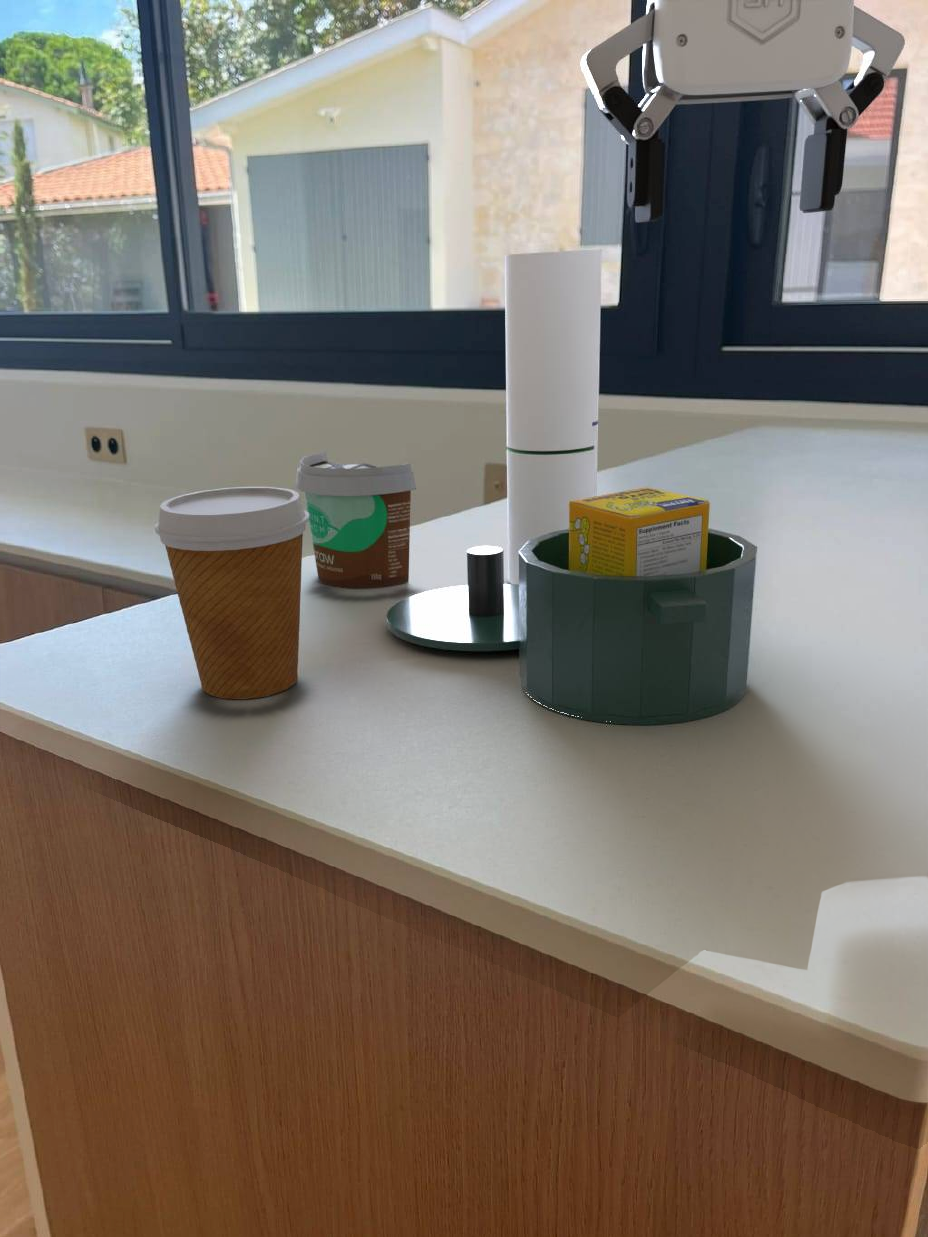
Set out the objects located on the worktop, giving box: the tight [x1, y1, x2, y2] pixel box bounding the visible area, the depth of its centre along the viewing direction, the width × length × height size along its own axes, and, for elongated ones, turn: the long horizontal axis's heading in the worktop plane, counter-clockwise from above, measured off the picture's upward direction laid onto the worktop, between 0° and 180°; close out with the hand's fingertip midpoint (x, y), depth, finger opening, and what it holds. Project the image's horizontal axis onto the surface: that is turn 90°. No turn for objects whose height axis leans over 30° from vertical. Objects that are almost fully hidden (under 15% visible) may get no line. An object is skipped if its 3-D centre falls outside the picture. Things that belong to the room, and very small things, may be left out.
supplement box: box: [569, 487, 711, 576], centre depth 67 cm, size 6×6×11 cm
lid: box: [385, 545, 519, 652], centre depth 80 cm, size 15×15×6 cm
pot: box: [518, 527, 758, 726], centre depth 67 cm, size 14×19×8 cm
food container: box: [295, 450, 417, 589], centre depth 93 cm, size 12×6×10 cm, turn 40°
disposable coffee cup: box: [154, 486, 309, 700], centre depth 70 cm, size 10×10×12 cm
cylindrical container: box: [504, 248, 603, 585], centre depth 87 cm, size 7×7×25 cm
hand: (732, 216), depth 63 cm, fingers open, 9 cm apart
